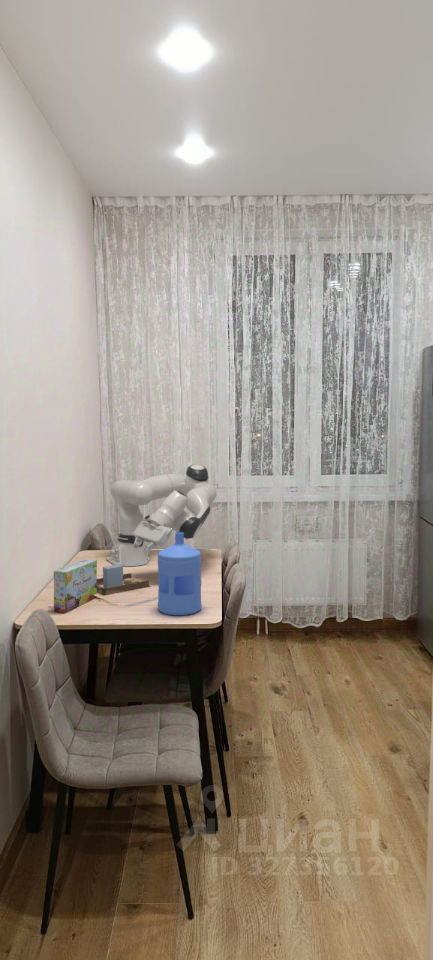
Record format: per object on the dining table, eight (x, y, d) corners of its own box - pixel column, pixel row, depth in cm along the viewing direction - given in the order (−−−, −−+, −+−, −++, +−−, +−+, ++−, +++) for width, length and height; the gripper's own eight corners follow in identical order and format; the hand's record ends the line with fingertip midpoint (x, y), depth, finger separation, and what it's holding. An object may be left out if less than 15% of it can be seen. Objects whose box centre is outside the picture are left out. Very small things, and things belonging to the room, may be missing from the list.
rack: (86, 590, 255) (86, 580, 254) (132, 582, 267) (132, 572, 267) (103, 599, 243) (103, 589, 242) (151, 590, 255) (151, 580, 255)
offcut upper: (123, 584, 259) (123, 579, 259) (129, 582, 262) (129, 578, 261) (132, 586, 256) (132, 581, 255) (138, 584, 258) (138, 580, 258)
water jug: (170, 601, 241) (169, 527, 238) (208, 605, 235) (208, 530, 232) (150, 613, 226) (149, 535, 223) (190, 618, 220) (190, 538, 217)
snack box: (66, 613, 226) (65, 571, 224) (53, 612, 228) (52, 570, 226) (98, 597, 245) (97, 559, 244) (85, 596, 247) (84, 557, 246)
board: (103, 592, 253) (102, 567, 252) (119, 589, 257) (118, 564, 256) (107, 594, 250) (107, 568, 249) (123, 591, 254) (122, 566, 253)
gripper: (178, 531, 257) (158, 559, 253) (151, 524, 274) (132, 550, 269) (169, 521, 254) (148, 549, 249) (142, 515, 270) (122, 541, 265)
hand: (139, 549), depth 259 cm, fingers open, 8 cm apart
